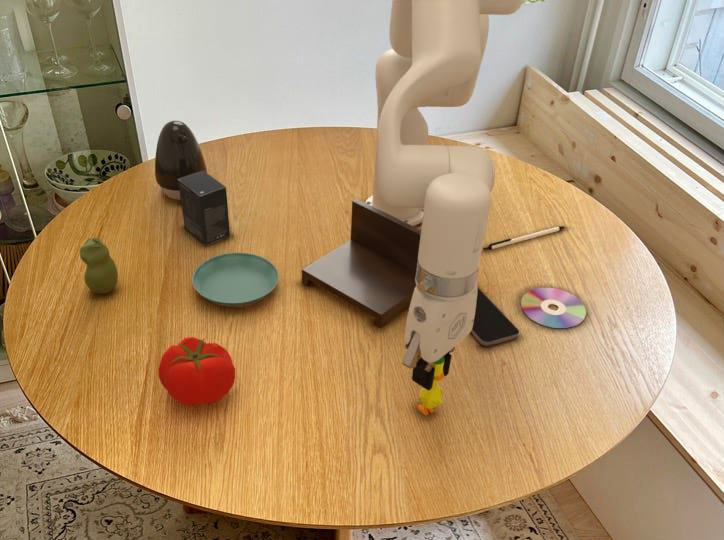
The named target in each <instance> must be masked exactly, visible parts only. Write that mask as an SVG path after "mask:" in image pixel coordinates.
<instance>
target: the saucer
mask: <svg viewBox="0 0 724 540" xmlns="http://www.w3.org/2000/svg"><path fill="white" fill-rule="evenodd" d="M279 279H280V273H279V271H278V268H277V267H276V266H275V264H274V263H273V262H271V261H270V260H269V259H267V258H265V257H263V256H260V255H257V254H254V253H250V252H226V253H221V254H218V255H214V256H212V257H210V258H208V259H206V260H204V261H203V262H201V263H200V264H199V265H198V266H197V267H196V268H195V269H194V271H193V273H192V277H191V283H192V285H193V288H194V289H195V291H196V292H197V293H198V294H199V295H200V296H201V297H203V298H204V299H206V300H207V301H209V302H210V303H213V304H216V305H218V306H222V307H228V308H242V307H247V306H250V305H251V306H252V305H253V304H256V303H259V302H260V301H262V300H263V299H264V298H267V296H268V295H270V294H271V292H272V291H273V290H274V289H275V288H276V286H277V285H278V282H279Z"/></svg>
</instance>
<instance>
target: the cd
mask: <svg viewBox="0 0 724 540" xmlns="http://www.w3.org/2000/svg"><path fill="white" fill-rule="evenodd" d="M550 305H554V306H556V307H557V309H556V310H554V309H551V308H549V306H550ZM520 307H521V311H522V312H523V313H524V314H525V315H526V316H527V317H528V319H530V320H532V321H533V322H535V323H537V324H539V325H540V326H545V327H549V328H552V329H568V328H573V327H576V326H578V325H580V324H581V323H582V322H583V321H584V320H585V318H586V316H587V315H586V314H587V310H586V307H585V304H584V303H583V302H582V301H581V300H580V299H579V298H578V297H577V296H576V295H574V294H572V293H570V292H568V291H566V290H563V289H558V288H555V287H537V288H534V289H530V290H529V291H528V292H526V293H524V294H523V295H522V298H521V299H520Z"/></svg>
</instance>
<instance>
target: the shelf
mask: <svg viewBox="0 0 724 540" xmlns="http://www.w3.org/2000/svg"><path fill="white" fill-rule="evenodd" d="M365 202H366V201H363V200H360V199H358V198H355V199H353V200H352V201H351V218H350V219H351V221H350V239H349V240H348V241H346V242H344V243H343V244H341V245H340V246H338V247H336V248H335V249H333V250H332V251H330V252H328V253H326V254H325V255H323V256H321V257H320V258H318V259H316V260H315V261H313V262H312V263H310V264H308V265H307V266H304V267H303V268H302V269H301V284H302V285H304V286H306V287H310V286H311V285H313V284H314V285H316V286H318V287H320V288H321V289H323V290H325V291H327V292H328V293H331V295H333V296H335V297H337V298H338V299H340V300H342V301H344V302H345V303H347V304H349V305H351V306H352V307H354V308H356V309H358V310H360V311H361V312H363V313H365V314H366V315H367V316H369V317H371V318H373V326H374V327H376V328H378V329H379V330H381V329H382V328H384V327H385V326H386V325H388V324H390V322H392V321H393V320H395V319H396V318H397V317H399V316H400V315H402V314H403V313H404V312H405V311H407V310H409V307H410V303H411V300H412V296H413V293H414V289H415V287H416V282H415V277H416V269H417V261H418V253H419V244H420V236H421V228H417V227H416V226H412V225H410V224H408V223H405V222H403V221H401V220H399V219H397V218H395V217H393V216H391V215H389V214H387V213H385V212H383V211H381V210H379V209H377V208H375V207H373V206H371V205H369V204H367V203H365Z"/></svg>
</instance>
